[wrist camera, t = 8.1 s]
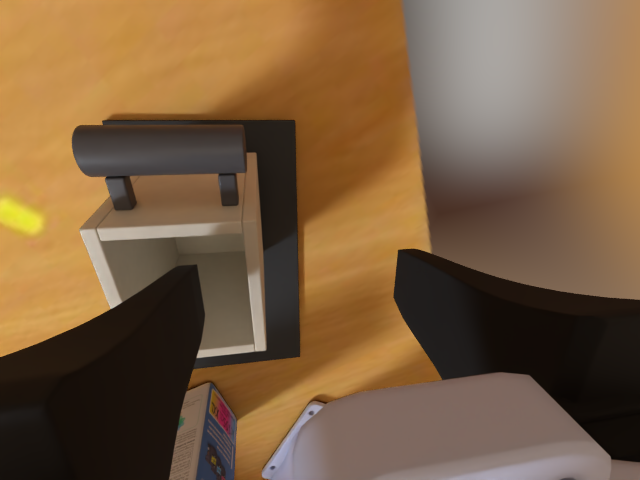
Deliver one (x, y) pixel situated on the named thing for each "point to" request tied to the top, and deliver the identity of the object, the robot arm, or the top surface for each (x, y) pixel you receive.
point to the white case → (180, 221)
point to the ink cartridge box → (204, 437)
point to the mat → (267, 233)
